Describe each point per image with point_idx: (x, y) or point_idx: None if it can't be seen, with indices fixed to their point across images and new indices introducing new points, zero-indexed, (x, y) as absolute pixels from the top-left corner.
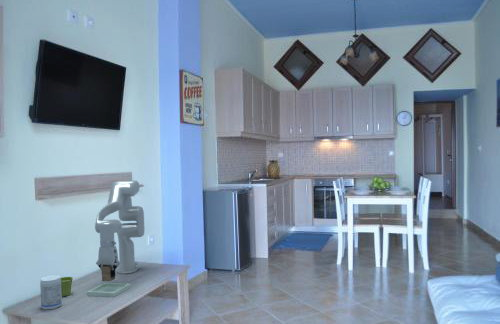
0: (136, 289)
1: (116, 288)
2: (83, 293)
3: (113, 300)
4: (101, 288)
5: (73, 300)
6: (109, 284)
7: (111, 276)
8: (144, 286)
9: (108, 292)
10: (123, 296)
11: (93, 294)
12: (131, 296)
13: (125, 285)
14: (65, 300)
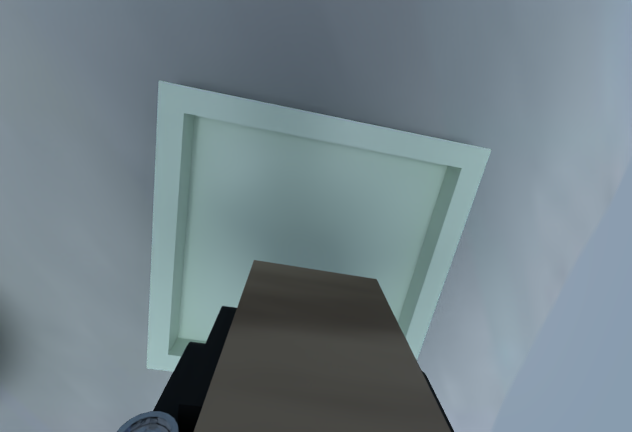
0: (537, 208)
1: (353, 207)
2: (89, 295)
3: None
4: (196, 201)
5: None
6: (241, 123)
7: None
8: (606, 120)
9: None
10: (460, 360)
11: None
12: (519, 360)
13: (453, 208)
14: (57, 428)
